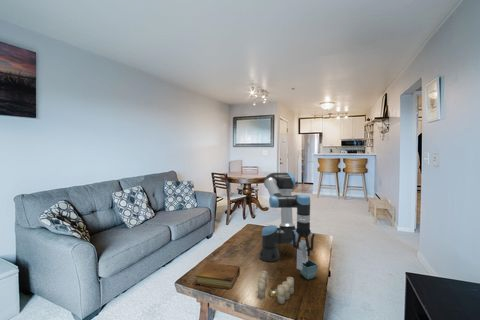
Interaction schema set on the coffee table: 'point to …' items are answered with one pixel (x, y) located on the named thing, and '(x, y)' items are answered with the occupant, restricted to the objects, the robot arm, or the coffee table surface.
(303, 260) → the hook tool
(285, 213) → the robot arm
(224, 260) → the coffee table surface
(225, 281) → the diary
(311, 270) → the flower pot
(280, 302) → the posts
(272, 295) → the brass round knob
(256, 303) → the coffee table surface
